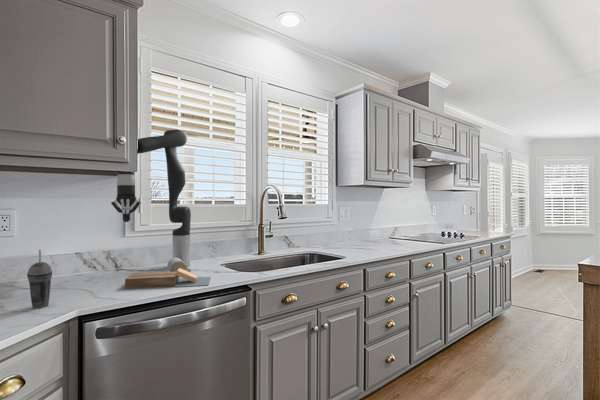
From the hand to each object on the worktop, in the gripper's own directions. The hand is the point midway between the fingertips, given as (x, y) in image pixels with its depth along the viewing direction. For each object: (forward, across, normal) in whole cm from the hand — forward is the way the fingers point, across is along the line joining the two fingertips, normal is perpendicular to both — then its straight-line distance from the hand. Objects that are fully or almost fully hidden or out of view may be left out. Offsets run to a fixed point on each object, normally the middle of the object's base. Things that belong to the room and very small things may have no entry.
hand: (126, 221), depth 162 cm
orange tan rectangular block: (+25, -28, +11) cm, 39 cm away
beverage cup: (+27, +18, +37) cm, 49 cm away
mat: (+27, -31, +11) cm, 43 cm away
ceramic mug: (+27, -22, -9) cm, 36 cm away
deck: (+27, -14, +11) cm, 32 cm away
